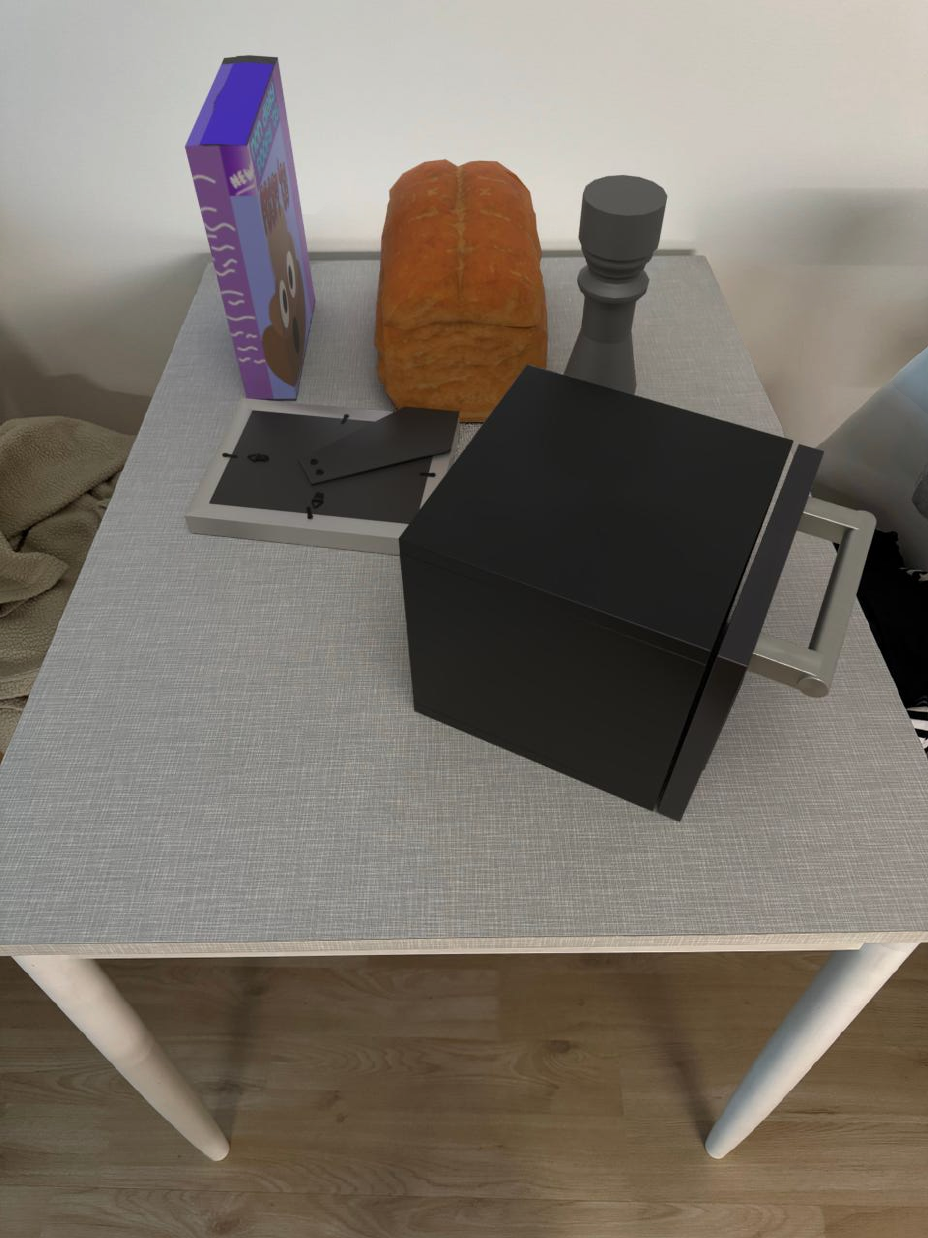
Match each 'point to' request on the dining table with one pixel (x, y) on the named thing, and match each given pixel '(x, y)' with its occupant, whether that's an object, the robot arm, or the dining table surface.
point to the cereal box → (255, 223)
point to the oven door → (744, 635)
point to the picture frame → (323, 474)
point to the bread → (459, 288)
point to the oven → (583, 575)
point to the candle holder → (614, 275)
